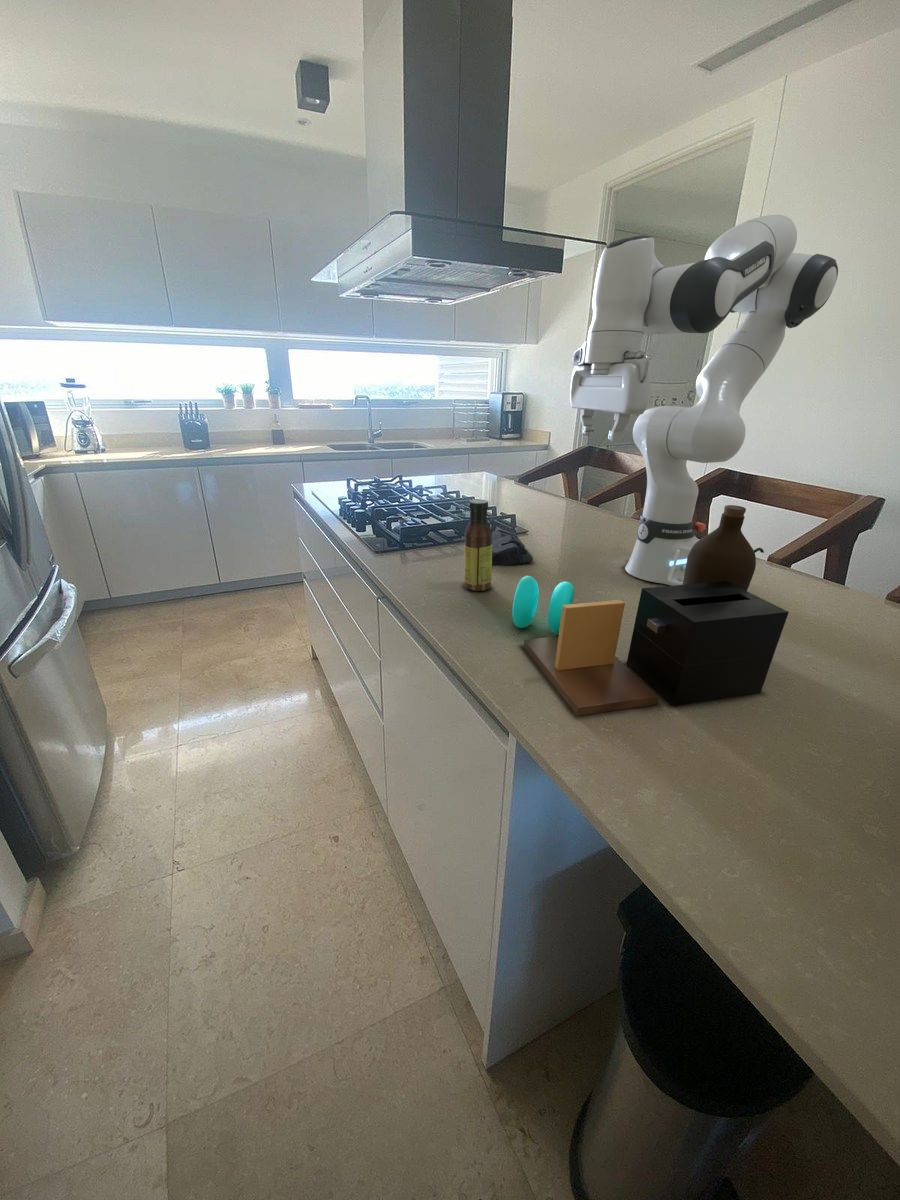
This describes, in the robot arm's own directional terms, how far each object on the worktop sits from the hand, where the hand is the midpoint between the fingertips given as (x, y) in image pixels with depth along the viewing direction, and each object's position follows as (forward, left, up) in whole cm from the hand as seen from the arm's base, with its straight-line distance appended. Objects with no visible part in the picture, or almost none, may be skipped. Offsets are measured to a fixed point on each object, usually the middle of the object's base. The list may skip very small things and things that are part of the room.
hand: (600, 438), depth 88 cm
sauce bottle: (+17, -15, -34) cm, 41 cm away
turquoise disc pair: (+11, +7, -34) cm, 37 cm away
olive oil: (-17, +17, -34) cm, 42 cm away
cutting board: (+10, +23, -34) cm, 42 cm away
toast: (+11, +23, -33) cm, 41 cm away
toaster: (-6, +28, -34) cm, 44 cm away
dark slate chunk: (+3, -38, -34) cm, 51 cm away
